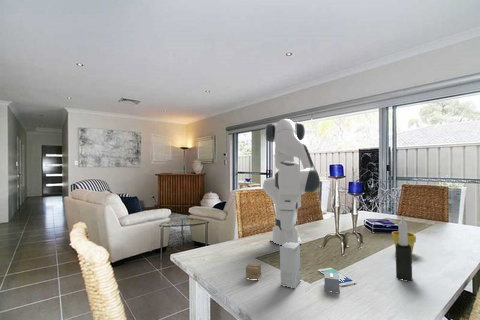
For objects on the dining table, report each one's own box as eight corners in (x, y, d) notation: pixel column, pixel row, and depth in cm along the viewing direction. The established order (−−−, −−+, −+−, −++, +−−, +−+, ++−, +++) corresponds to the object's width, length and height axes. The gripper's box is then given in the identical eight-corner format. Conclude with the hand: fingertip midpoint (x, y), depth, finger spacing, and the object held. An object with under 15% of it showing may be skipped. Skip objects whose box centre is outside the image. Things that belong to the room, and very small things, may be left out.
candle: (397, 274, 101) (396, 214, 102) (412, 277, 98) (410, 215, 99) (395, 278, 97) (394, 216, 98) (411, 282, 94) (409, 217, 95)
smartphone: (331, 267, 108) (357, 282, 94) (331, 269, 108) (357, 284, 93) (317, 269, 105) (341, 285, 91) (317, 271, 105) (341, 287, 91)
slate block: (324, 285, 93) (324, 271, 93) (338, 287, 91) (338, 273, 91) (324, 291, 88) (324, 277, 88) (339, 293, 87) (339, 279, 87)
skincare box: (295, 289, 89) (294, 249, 90) (279, 285, 92) (279, 246, 93) (301, 280, 97) (300, 242, 97) (286, 277, 100) (286, 240, 100)
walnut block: (249, 274, 102) (249, 262, 103) (261, 276, 101) (260, 263, 101) (246, 279, 98) (245, 266, 98) (258, 281, 96) (257, 268, 96)
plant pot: (393, 254, 124) (392, 235, 124) (391, 248, 133) (391, 230, 133) (418, 257, 119) (417, 237, 119) (414, 251, 128) (413, 232, 128)
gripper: (285, 198, 106) (285, 230, 106) (277, 205, 87) (277, 244, 86) (300, 198, 104) (300, 231, 104) (295, 206, 85) (295, 246, 84)
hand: (290, 237), depth 95 cm, fingers closed
